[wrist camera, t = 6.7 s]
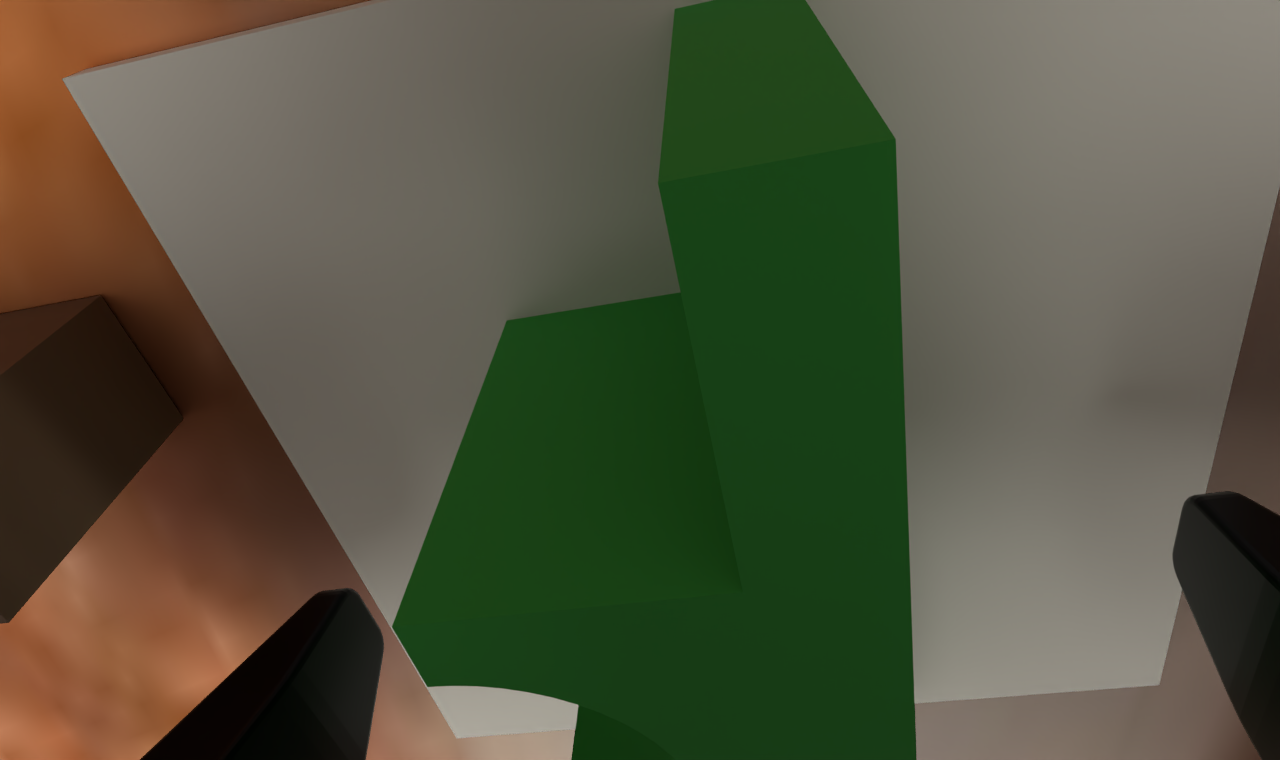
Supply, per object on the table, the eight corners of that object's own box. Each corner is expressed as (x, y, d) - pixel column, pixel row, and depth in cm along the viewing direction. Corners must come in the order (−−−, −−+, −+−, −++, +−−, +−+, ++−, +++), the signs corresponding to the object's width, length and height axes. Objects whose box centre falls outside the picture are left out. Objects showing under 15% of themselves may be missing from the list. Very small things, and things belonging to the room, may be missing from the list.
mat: (1346, -236, 7) (1382, -239, 6) (1146, 663, 13) (1158, 684, 13) (85, 68, 9) (62, 78, 8) (461, 718, 15) (457, 737, 15)
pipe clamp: (418, 63, 8) (172, 264, 4) (793, -21, 7) (899, 124, 4) (645, 718, 14) (629, 1042, 10) (862, 700, 13) (930, 1039, 10)
